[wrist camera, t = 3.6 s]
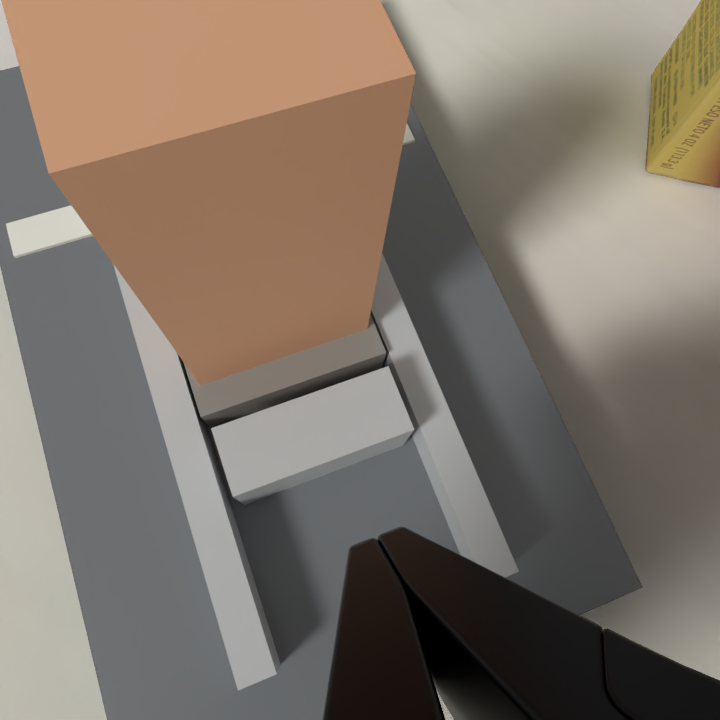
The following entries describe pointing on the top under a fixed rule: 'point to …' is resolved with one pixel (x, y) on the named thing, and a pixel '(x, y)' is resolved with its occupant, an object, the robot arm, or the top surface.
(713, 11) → the candy box
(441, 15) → the top surface
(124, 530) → the board
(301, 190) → the fader tab
